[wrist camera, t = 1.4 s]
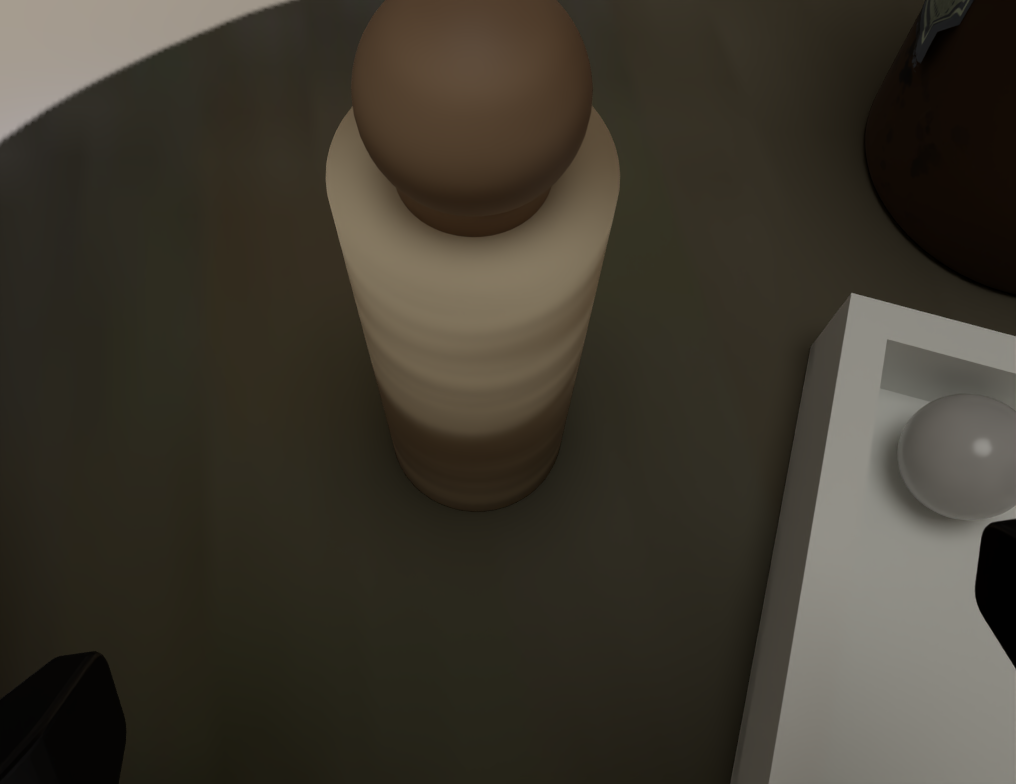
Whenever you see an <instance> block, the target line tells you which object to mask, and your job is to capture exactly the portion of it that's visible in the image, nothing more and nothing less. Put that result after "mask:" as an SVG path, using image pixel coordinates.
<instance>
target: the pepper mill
mask: <svg viewBox="0 0 1016 784" xmlns="http://www.w3.org/2000/svg"><path fill="white" fill-rule="evenodd" d="M592 93H593V86H592V75H591V67H590V62H589V59H588V55H587V51H586V48H585V45H584V42H583V40H582V38H581V36H580V33H579V31H578V30H577V28H576V26H575V24H574V23H573V21H572V19H571V18H570V16H569V15H568V13H567V12H566V11H565V10H564V8H563V7H562V6H561V5H560V4H559V3H558V1H557V0H385V1H384V2H383V4H382V5H381V6H380V7H379V8H378V10H377V11H376V12H375V13H374V15H373V16H372V18H371V20H370V22H369V23H368V25H367V27H366V29H365V31H364V33H363V35H362V37H361V40H360V42H359V45H358V48H357V52H356V55H355V59H354V64H353V70H352V84H351V95H352V105H353V106H352V108H351V109H350V110H349V112H348V113H347V114H346V116H345V117H344V118H343V120H342V122H341V124H340V125H339V127H338V129H337V131H336V133H335V135H334V138H333V140H332V143H331V146H330V149H329V154H328V158H327V163H326V186H327V195H328V199H329V203H330V207H331V210H332V214H333V218H334V222H335V226H336V229H337V233H338V237H339V241H340V244H341V248H342V252H343V256H344V260H345V263H346V267H347V271H348V275H349V279H350V282H351V286H352V290H353V294H354V298H355V301H356V305H357V309H358V313H359V317H360V320H361V324H362V328H363V332H364V335H365V339H366V343H367V347H368V351H369V354H370V358H371V362H372V366H373V370H374V373H375V377H376V381H377V385H378V389H379V392H380V396H381V400H382V404H383V408H384V411H385V415H386V419H387V423H388V426H389V430H390V434H391V438H392V442H393V445H394V449H395V453H396V456H397V459H398V461H399V464H400V466H401V468H402V470H403V471H404V473H405V475H406V476H407V477H408V479H409V480H410V481H411V482H412V484H413V485H414V486H415V487H416V488H417V489H419V490H420V491H421V492H422V493H423V494H425V495H426V496H428V497H429V498H430V499H432V500H434V501H436V502H438V503H440V504H442V505H445V506H448V507H450V508H454V509H459V510H464V511H489V510H495V509H499V508H503V507H506V506H509V505H511V504H513V503H516V502H518V501H519V500H521V499H523V498H524V497H526V496H528V495H529V494H530V493H531V492H533V491H534V490H535V489H536V488H537V487H538V486H539V485H540V484H541V483H542V482H543V481H544V480H545V478H546V477H547V475H548V474H549V473H550V471H551V469H552V467H553V465H554V463H555V461H556V458H557V456H558V453H559V448H560V444H561V440H562V435H563V431H564V427H565V423H566V418H567V414H568V410H569V405H570V401H571V397H572V393H573V388H574V384H575V380H576V375H577V371H578V367H579V362H580V358H581V354H582V350H583V345H584V341H585V337H586V332H587V328H588V324H589V320H590V315H591V311H592V307H593V302H594V298H595V294H596V289H597V285H598V281H599V277H600V272H601V268H602V264H603V259H604V255H605V251H606V246H607V242H608V238H609V234H610V229H611V225H612V221H613V216H614V212H615V208H616V203H617V199H618V194H619V186H620V169H619V159H618V155H617V151H616V148H615V144H614V142H613V139H612V137H611V135H610V132H609V130H608V128H607V126H606V125H605V123H604V122H603V120H602V118H601V117H600V115H599V114H598V113H597V111H596V110H595V109H594V108H593V107H592Z"/></svg>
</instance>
